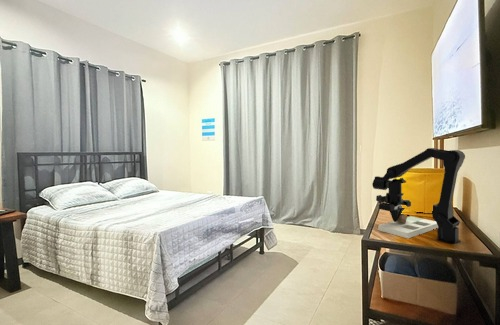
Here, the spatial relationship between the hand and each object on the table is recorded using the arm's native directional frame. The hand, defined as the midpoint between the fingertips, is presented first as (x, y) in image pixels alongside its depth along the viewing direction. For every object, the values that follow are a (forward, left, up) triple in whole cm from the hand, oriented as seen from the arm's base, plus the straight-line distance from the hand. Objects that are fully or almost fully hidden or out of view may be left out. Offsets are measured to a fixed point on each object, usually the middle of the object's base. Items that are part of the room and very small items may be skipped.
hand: (394, 221), depth 128 cm
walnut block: (-1, -2, 0) cm, 2 cm away
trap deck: (-4, -6, -4) cm, 8 cm away
